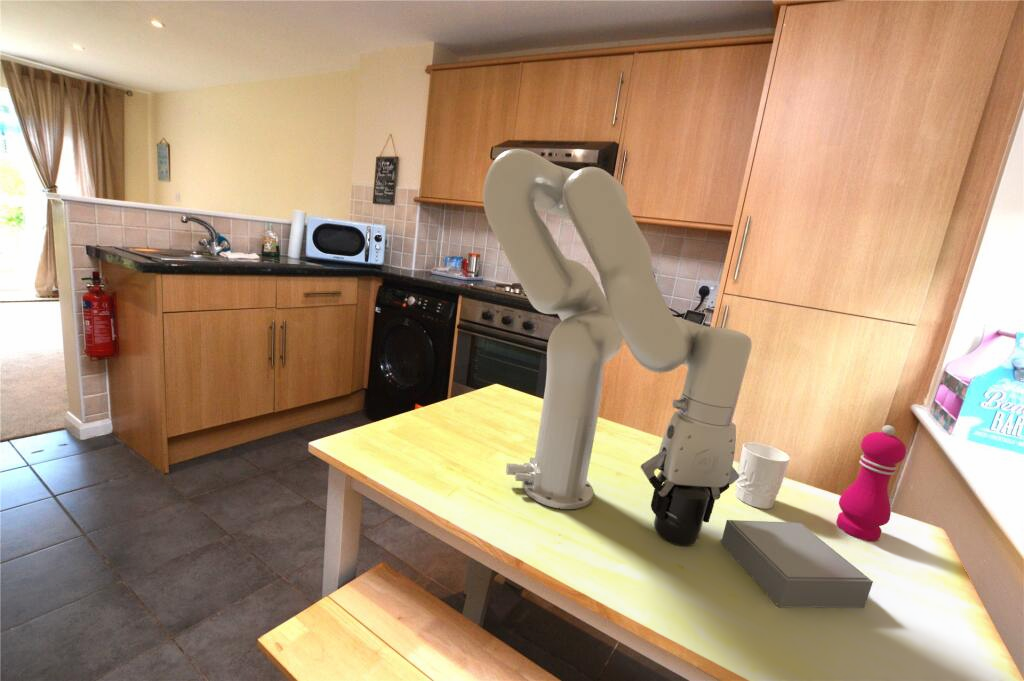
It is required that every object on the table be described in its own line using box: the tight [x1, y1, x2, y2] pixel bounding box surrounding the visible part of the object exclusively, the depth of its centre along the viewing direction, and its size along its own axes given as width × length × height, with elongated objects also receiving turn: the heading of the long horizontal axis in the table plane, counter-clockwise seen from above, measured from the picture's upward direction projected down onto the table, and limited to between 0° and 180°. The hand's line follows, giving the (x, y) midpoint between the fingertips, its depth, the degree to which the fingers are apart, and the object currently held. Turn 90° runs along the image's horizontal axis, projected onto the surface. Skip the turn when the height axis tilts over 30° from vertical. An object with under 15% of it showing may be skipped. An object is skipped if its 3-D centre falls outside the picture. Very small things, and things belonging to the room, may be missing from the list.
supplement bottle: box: [653, 478, 710, 547], centre depth 71 cm, size 7×7×12 cm
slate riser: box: [720, 519, 874, 608], centre depth 67 cm, size 13×13×4 cm
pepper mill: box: [836, 424, 907, 542], centre depth 79 cm, size 7×7×20 cm
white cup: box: [734, 441, 791, 510], centre depth 87 cm, size 8×8×10 cm
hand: (679, 515), depth 72 cm, fingers closed on supplement bottle, 6 cm apart
